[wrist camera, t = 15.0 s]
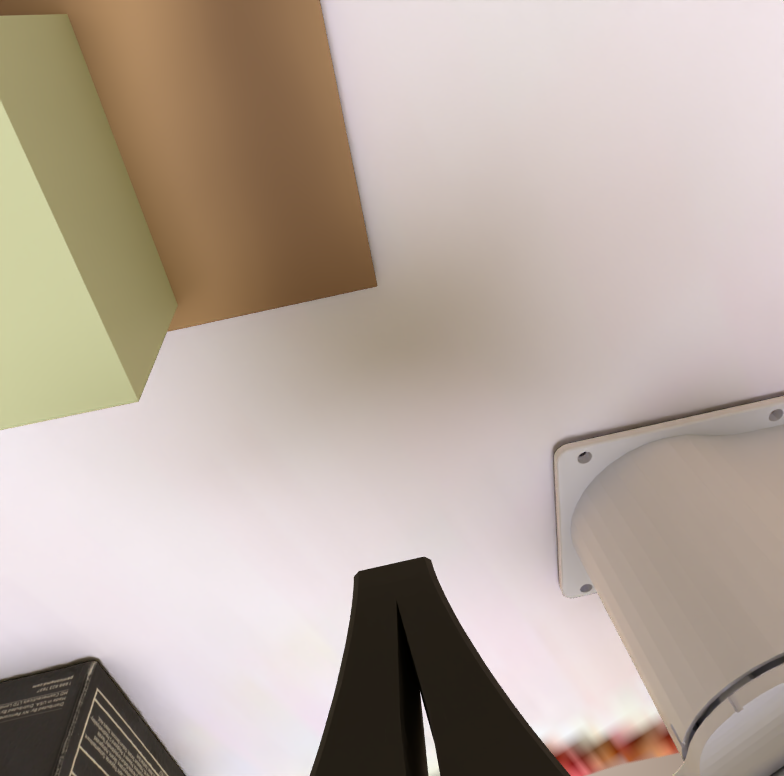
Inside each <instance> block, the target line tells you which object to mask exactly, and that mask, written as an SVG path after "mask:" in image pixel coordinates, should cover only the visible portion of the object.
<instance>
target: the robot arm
mask: <svg viewBox="0 0 784 776" xmlns="http://www.w3.org/2000/svg"><path fill="white" fill-rule="evenodd" d="M774 410H775V411H774ZM773 411H774V412H773ZM771 412H773V413H772V414H770V413H771ZM583 452H587V453H586V454H585V455H583V456H581V457H578V456H579V455H580V454H581V453H583ZM554 470H555V493H556V515H557V537H558V559H559V581H560V589H561V591H562V594H563V595H564V596H565V597H567V598H577V597H581V596H585V595H590V594H594V593H598V595H599V597H600V599H601V601H602V603H603V605H604V607H605V609H606V611H607V613H608V615H609V616H610V618H611V620H612V622H613V624H614V626H615V628H616V630H617V632H618V634H619V636H620V638H621V640H622V642H623V644H624V646H625V648H626V650H627V652H628V654H629V656H630V657H631V659H632V661H633V663H634V665H635V667H636V669H637V671H638V673H639V675H640V677H641V679H642V681H643V683H644V685H645V687H646V689H647V691H648V693H649V695H650V697H651V698H652V700H653V702H654V704H655V706H656V708H657V710H658V712H659V714H660V716H661V718H662V720H663V722H664V724H665V726H666V728H667V730H668V732H669V734H670V736H671V738H672V740H673V741H674V743H675V745H676V747H677V749H678V751H679V753H680V755H681V757H682V759H683V761H684V763H683V765H682V766H681V767H680V768H679V769H678V770H677V772H676V773H675V774H673V775H672V776H784V396H781V397H776V398H772V399H767V400H763V401H758V402H754V403H749V404H745V405H740V406H736V407H731V408H727V409H722V410H718V411H713V412H709V413H704V414H700V415H695V416H691V417H686V418H682V419H677V420H673V421H668V422H664V423H659V424H655V425H650V426H645V427H641V428H636V429H632V430H627V431H623V432H618V433H614V434H609V435H605V436H600V437H596V438H591V439H587V440H582V441H578V442H573V443H569V444H565V445H563V446H561V447H560V448H559V449H557V451H556V452H555V455H554ZM420 692H421V696H422V700H423V703H424V707H425V710H426V714H427V718H428V721H429V725H430V729H431V732H432V736H433V739H434V743H435V748H436V753H437V759H438V765H439V770H440V776H570V774H569V773H568V772H567V771H566V770H565V769H564V767H563V766H562V765H561V764H560V763H559V761H558V760H557V759H556V758H555V757H554V756H553V754H552V753H551V752H550V751H549V749H548V748H547V747H546V746H545V744H544V743H543V742H542V741H541V739H540V738H539V737H538V736H537V734H536V733H535V732H534V731H533V729H532V728H531V727H530V726H529V724H528V723H527V722H526V720H525V719H524V718H523V716H522V715H521V714H520V712H519V711H518V710H517V708H516V707H515V706H514V704H513V703H512V702H511V700H510V699H509V697H508V696H507V695H506V693H505V692H504V690H503V689H502V688H501V686H500V685H499V683H498V682H497V681H496V679H495V678H494V676H493V675H492V673H491V672H490V670H489V669H488V667H487V666H486V664H485V663H484V661H483V660H482V658H481V657H480V655H479V653H478V652H477V650H476V649H475V647H474V645H473V644H472V642H471V641H470V639H469V637H468V636H467V634H466V633H465V631H464V629H463V628H462V626H461V624H460V622H459V621H458V619H457V617H456V615H455V613H454V612H453V610H452V608H451V606H450V604H449V602H448V600H447V598H446V596H445V594H444V592H443V590H442V588H441V586H440V583H439V581H438V579H437V576H436V574H435V571H434V568H433V565H432V562H431V560H430V559H428V558H426V557H420V558H416V559H411V560H407V561H402V562H398V563H394V564H389V565H385V566H380V567H376V568H371V569H367V570H362V571H359V572H358V573H357V574H356V575H355V576H354V589H353V599H352V608H351V615H350V622H349V628H348V633H347V639H346V644H345V649H344V654H343V658H342V663H341V667H340V672H339V676H338V681H337V685H336V689H335V693H334V697H333V700H332V704H331V707H330V711H329V714H328V718H327V721H326V725H325V729H324V732H323V736H322V739H321V742H320V746H319V749H318V752H317V755H316V758H315V761H314V764H313V767H312V770H311V773H310V776H428V768H427V757H426V747H425V737H424V727H423V717H422V706H421V696H420Z"/></svg>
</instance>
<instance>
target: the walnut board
mask: <svg viewBox="0 0 784 776" xmlns="http://www.w3.org/2000/svg"><path fill="white" fill-rule="evenodd" d="M49 14H67V15H68V17H69V20H70V23H71V25H72V28H73V31H74V33H75V36H76V38H77V41H78V44H79V46H80V49H81V52H82V54H83V57H84V59H85V62H86V65H87V67H88V70H89V73H90V75H91V78H92V81H93V83H94V86H95V88H96V91H97V94H98V96H99V99H100V102H101V104H102V107H103V109H104V112H105V115H106V117H107V120H108V123H109V125H110V128H111V131H112V133H113V136H114V138H115V141H116V144H117V146H118V149H119V152H120V154H121V157H122V159H123V162H124V165H125V167H126V170H127V173H128V175H129V178H130V181H131V183H132V186H133V188H134V191H135V194H136V196H137V199H138V202H139V204H140V207H141V210H142V212H143V215H144V217H145V220H146V223H147V225H148V228H149V231H150V233H151V236H152V238H153V241H154V244H155V246H156V249H157V252H158V254H159V257H160V260H161V262H162V265H163V267H164V270H165V273H166V275H167V278H168V281H169V283H170V286H171V288H172V291H173V294H174V296H175V299H176V302H177V304H178V306H177V308H176V311H175V313H174V316H173V318H172V321H171V323H170V326H169V328H168V330H167V332H168V331H173V330H177V329H182V328H187V327H191V326H196V325H201V324H205V323H210V322H214V321H219V320H224V319H228V318H233V317H238V316H242V315H247V314H251V313H256V312H261V311H265V310H270V309H275V308H279V307H284V306H288V305H293V304H298V303H302V302H307V301H312V300H316V299H321V298H326V297H330V296H335V295H339V294H344V293H349V292H353V291H358V290H363V289H367V288H372V287H376V286H377V282H376V277H375V272H374V267H373V262H372V257H371V252H370V248H369V243H368V238H367V233H366V228H365V223H364V218H363V213H362V208H361V203H360V198H359V193H358V188H357V183H356V178H355V173H354V168H353V163H352V158H351V153H350V148H349V143H348V138H347V134H346V129H345V124H344V119H343V114H342V109H341V104H340V99H339V94H338V89H337V84H336V79H335V74H334V69H333V64H332V59H331V54H330V49H329V44H328V39H327V34H326V29H325V25H324V20H323V15H322V10H321V5H320V0H0V16H9V15H49Z"/></svg>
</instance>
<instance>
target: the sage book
mask: <svg viewBox="0 0 784 776" xmlns="http://www.w3.org/2000/svg"><path fill="white" fill-rule="evenodd" d="M177 306H178V304H177V302H176V299H175V296H174V294H173V291H172V288H171V286H170V283H169V281H168V278H167V275H166V273H165V270H164V267H163V265H162V262H161V260H160V257H159V254H158V252H157V249H156V246H155V244H154V241H153V238H152V236H151V233H150V231H149V228H148V225H147V223H146V220H145V217H144V215H143V212H142V210H141V207H140V204H139V202H138V199H137V196H136V194H135V191H134V188H133V186H132V183H131V181H130V178H129V175H128V173H127V170H126V167H125V165H124V162H123V159H122V157H121V154H120V152H119V149H118V146H117V144H116V141H115V138H114V136H113V133H112V131H111V128H110V125H109V123H108V120H107V117H106V115H105V112H104V109H103V107H102V104H101V102H100V99H99V96H98V94H97V91H96V88H95V86H94V83H93V81H92V78H91V75H90V73H89V70H88V67H87V65H86V62H85V59H84V57H83V54H82V52H81V49H80V46H79V44H78V41H77V38H76V36H75V33H74V31H73V28H72V25H71V23H70V20H69V17H68V15H67V14H49V15H9V16H0V430H4V429H8V428H13V427H18V426H23V425H28V424H33V423H37V422H42V421H47V420H52V419H57V418H62V417H66V416H71V415H76V414H81V413H86V412H91V411H95V410H100V409H105V408H110V407H115V406H120V405H124V404H129V403H134V402H139V400H140V397H141V395H142V392H143V390H144V387H145V385H146V382H147V380H148V377H149V375H150V372H151V370H152V367H153V365H154V363H155V360H156V358H157V355H158V353H159V350H160V348H161V345H162V343H163V340H164V338H165V335H166V333H167V330H168V328H169V326H170V323H171V321H172V318H173V316H174V313H175V311H176V308H177Z"/></svg>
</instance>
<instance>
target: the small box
mask: <svg viewBox="0 0 784 776" xmlns="http://www.w3.org/2000/svg"><path fill="white" fill-rule="evenodd" d="M0 776H185V775H184V774H183V773H182V771H181V770H180V768H179V767H178V766H177V765H176V764H175V762H174V761H173V760H172V758H171V757H170V756H169V754H168V753H167V752H166V750H165V749H164V748H163V747H162V745H161V744H160V742H159V741H158V740H157V739H156V737H155V736H154V735H153V734H152V732H151V731H150V730H149V728H148V727H147V726H146V724H145V723H144V722H143V720H142V719H141V718H140V717H139V715H138V714H137V713H136V711H135V710H134V709H133V708H132V706H131V705H130V704H129V702H128V701H127V700H126V698H125V697H124V696H123V694H122V693H121V692H120V691H119V689H118V688H117V687H116V685H115V684H114V683H113V682H112V680H111V679H110V678H109V676H108V675H107V674H106V672H105V671H104V670H103V669H102V667H101V666H100V665H99V663H98V662H97V661H90V662H85V663H81V664H77V665H74V666H70V667H66V668H62V669H57V670H53V671H49V672H45V673H41V674H37V675H32V676H28V677H23V678H19V679H15V680H10V681H6V682H1V683H0Z"/></svg>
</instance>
